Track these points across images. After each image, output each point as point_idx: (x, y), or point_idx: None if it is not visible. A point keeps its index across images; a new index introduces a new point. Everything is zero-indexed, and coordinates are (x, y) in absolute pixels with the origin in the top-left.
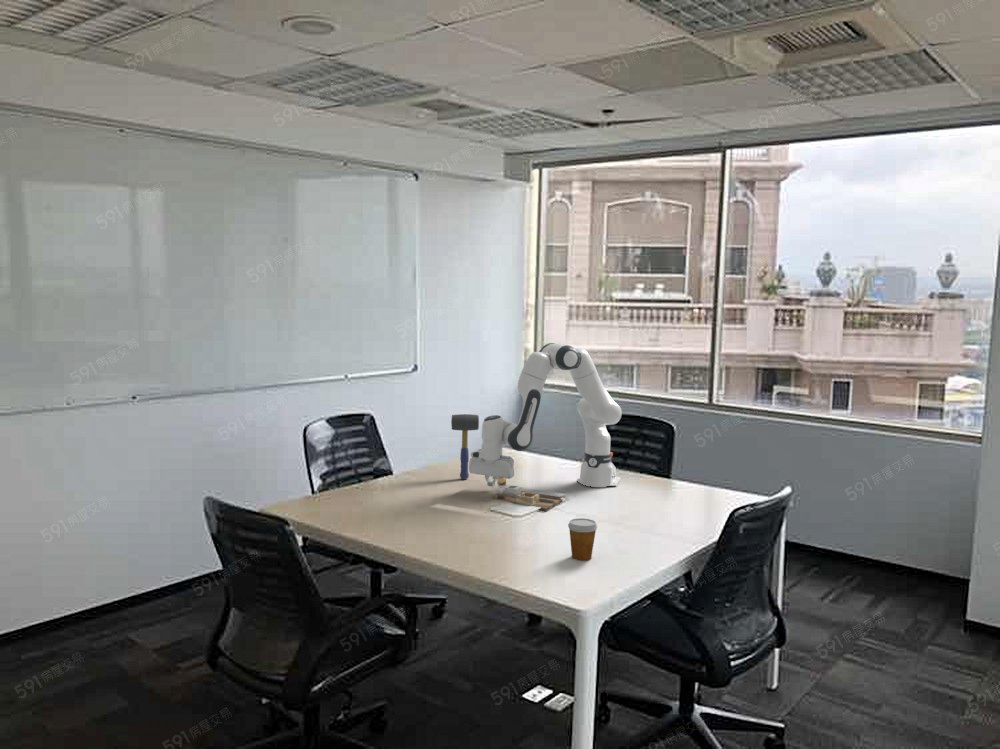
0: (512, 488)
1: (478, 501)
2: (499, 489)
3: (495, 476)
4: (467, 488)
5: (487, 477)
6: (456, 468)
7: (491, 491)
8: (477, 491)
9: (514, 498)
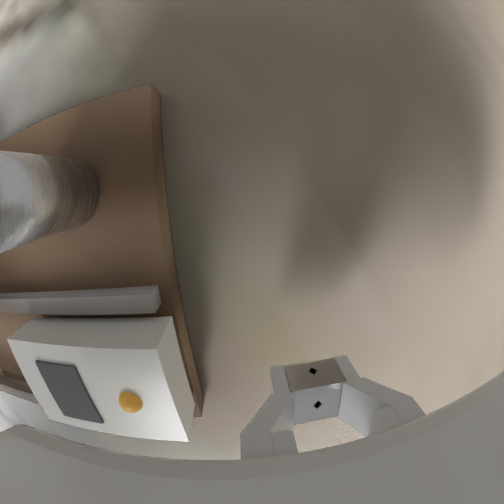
0: (33, 350)
1: (251, 73)
2: (13, 152)
3: (220, 464)
4: (465, 335)
5: (379, 416)
6: None
7: None
8: (408, 329)
9: (13, 254)
